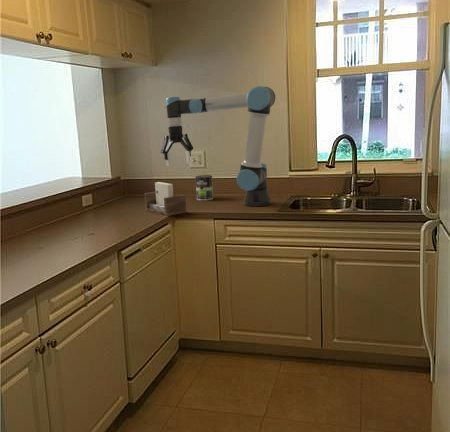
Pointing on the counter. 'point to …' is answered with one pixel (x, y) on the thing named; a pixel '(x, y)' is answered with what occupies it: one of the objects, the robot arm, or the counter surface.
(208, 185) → the coffee can
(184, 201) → the door track
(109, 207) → the counter surface
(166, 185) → the door panel
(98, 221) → the counter surface
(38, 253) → the counter surface
